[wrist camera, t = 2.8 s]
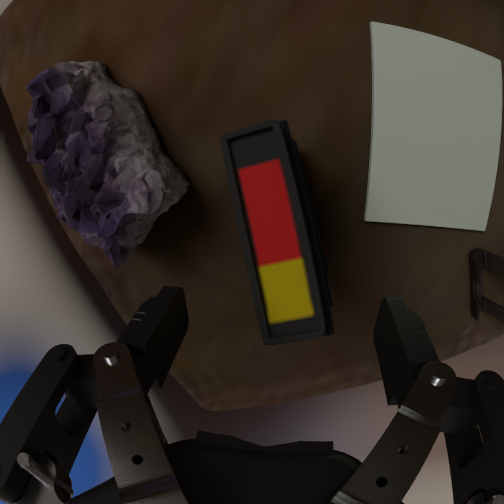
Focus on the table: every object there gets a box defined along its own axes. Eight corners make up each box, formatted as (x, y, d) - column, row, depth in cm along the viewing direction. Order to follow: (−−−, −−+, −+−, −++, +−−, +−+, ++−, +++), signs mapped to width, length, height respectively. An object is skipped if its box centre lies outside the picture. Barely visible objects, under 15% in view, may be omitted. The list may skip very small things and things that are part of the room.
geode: (43, 110, 25) (-19, 112, 15) (117, 43, 22) (63, 16, 13) (123, 256, 31) (77, 302, 21) (210, 205, 28) (184, 240, 19)
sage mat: (369, 23, 18) (371, 21, 17) (497, 60, 16) (500, 60, 15) (363, 218, 26) (365, 220, 25) (482, 228, 24) (484, 231, 23)
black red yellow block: (294, 297, 29) (258, 353, 14) (265, 166, 29) (206, 104, 14) (332, 290, 28) (334, 341, 13) (302, 157, 28) (273, 82, 13)
